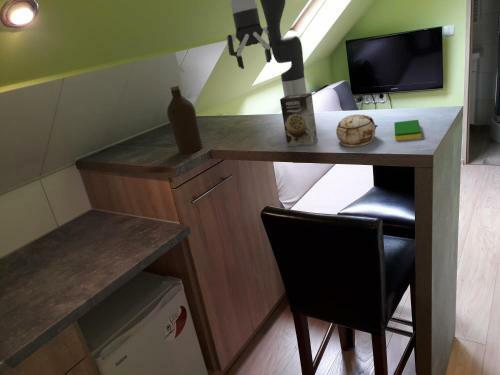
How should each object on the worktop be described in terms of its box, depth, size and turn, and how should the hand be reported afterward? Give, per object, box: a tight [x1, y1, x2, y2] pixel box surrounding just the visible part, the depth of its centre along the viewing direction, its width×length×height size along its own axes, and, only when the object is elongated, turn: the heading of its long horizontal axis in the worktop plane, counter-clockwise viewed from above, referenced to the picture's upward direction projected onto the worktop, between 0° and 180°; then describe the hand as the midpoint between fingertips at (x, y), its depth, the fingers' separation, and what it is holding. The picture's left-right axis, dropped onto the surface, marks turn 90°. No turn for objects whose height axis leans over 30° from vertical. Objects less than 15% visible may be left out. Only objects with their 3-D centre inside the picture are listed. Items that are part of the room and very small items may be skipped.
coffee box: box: [279, 92, 318, 147], centre depth 130 cm, size 9×6×16 cm
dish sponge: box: [393, 119, 422, 142], centre depth 120 cm, size 7×14×2 cm, turn 161°
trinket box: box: [335, 114, 378, 148], centre depth 123 cm, size 13×15×8 cm
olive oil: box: [166, 85, 204, 155], centre depth 150 cm, size 11×11×25 cm
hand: (255, 65), depth 122 cm, fingers open, 8 cm apart
